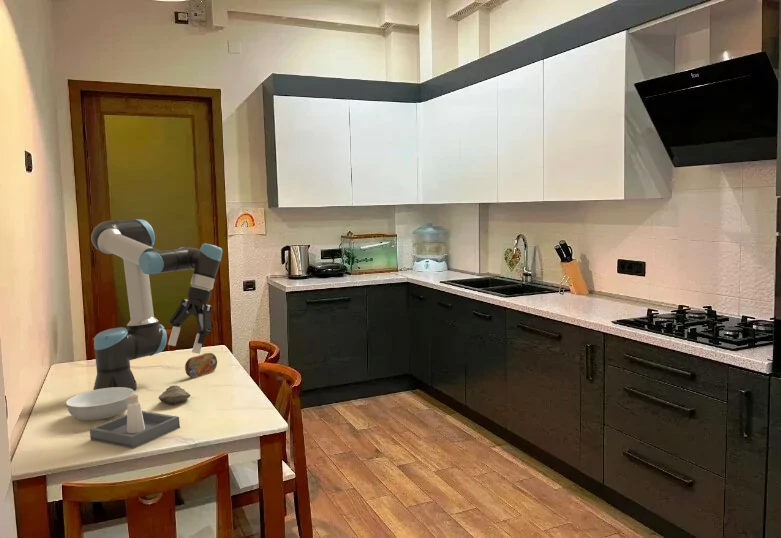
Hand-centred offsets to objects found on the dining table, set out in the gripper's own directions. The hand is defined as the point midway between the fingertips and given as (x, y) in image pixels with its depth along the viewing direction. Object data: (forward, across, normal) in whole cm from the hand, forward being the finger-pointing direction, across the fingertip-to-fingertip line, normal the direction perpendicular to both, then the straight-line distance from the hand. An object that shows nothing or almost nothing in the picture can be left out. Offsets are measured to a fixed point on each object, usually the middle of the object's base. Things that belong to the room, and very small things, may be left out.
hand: (183, 349), depth 212 cm
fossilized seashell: (+20, +8, -9) cm, 23 cm away
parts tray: (+27, -9, +15) cm, 32 cm away
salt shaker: (+26, -8, +15) cm, 31 cm away
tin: (+12, +31, -36) cm, 49 cm away
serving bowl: (+28, +17, +11) cm, 35 cm away
